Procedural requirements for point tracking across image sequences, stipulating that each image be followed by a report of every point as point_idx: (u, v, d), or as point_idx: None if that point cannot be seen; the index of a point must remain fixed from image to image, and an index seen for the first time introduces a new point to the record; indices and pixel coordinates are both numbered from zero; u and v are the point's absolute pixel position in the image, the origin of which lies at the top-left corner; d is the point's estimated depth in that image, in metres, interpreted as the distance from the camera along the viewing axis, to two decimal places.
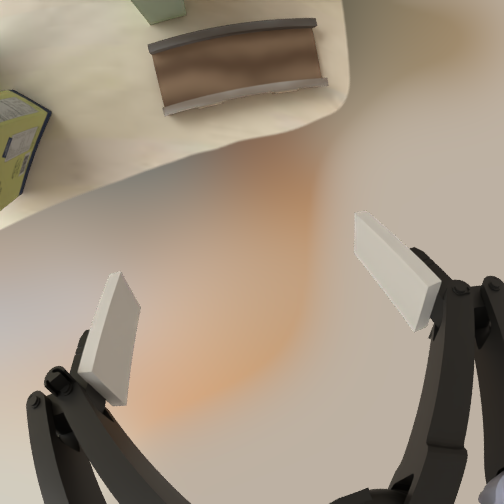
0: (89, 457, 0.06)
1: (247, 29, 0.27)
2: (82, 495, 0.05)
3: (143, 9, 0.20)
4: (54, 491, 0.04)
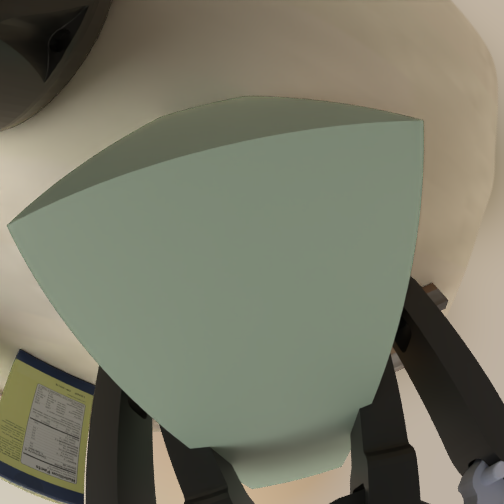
0: None
1: None
2: (133, 468, 0.06)
3: None
4: (103, 459, 0.06)
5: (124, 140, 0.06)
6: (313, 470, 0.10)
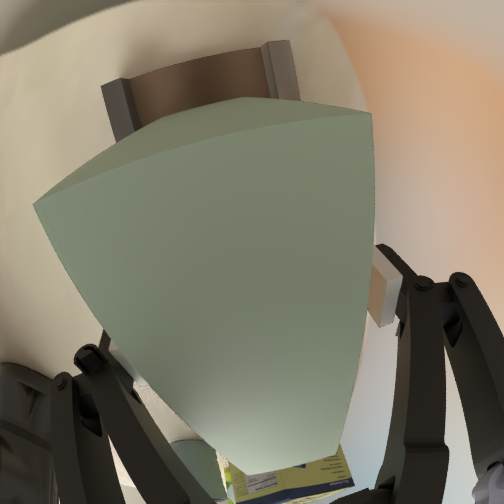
0: (112, 439, 0.06)
1: None
2: (99, 483, 0.06)
3: None
4: (70, 477, 0.05)
5: (128, 139, 0.07)
6: (306, 456, 0.11)
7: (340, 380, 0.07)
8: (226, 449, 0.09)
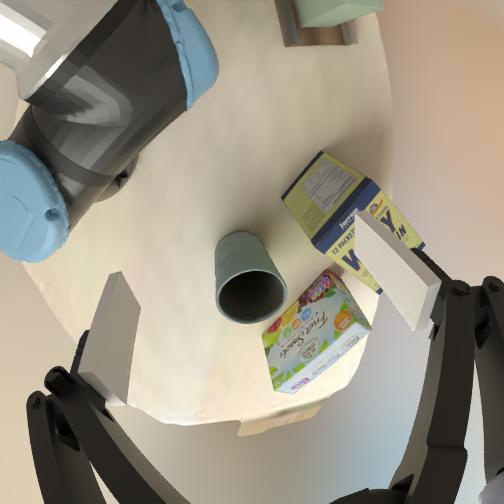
0: (89, 457, 0.06)
1: None
2: (82, 495, 0.05)
3: (324, 15, 0.23)
4: (54, 491, 0.04)
5: None
6: None
7: None
8: None
